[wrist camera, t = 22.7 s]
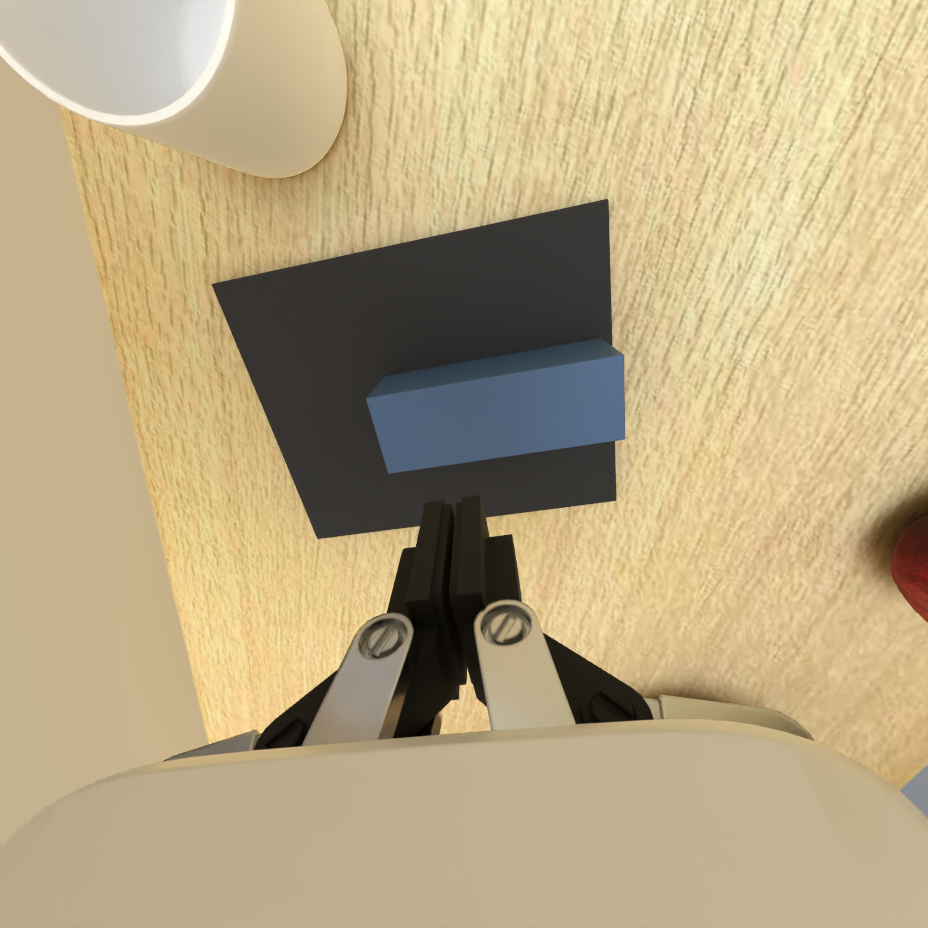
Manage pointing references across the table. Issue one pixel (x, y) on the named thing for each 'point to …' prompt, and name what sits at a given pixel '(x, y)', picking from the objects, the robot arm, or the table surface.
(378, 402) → the block
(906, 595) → the fruit
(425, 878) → the robot arm
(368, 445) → the mat
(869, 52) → the table surface
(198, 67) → the mug
